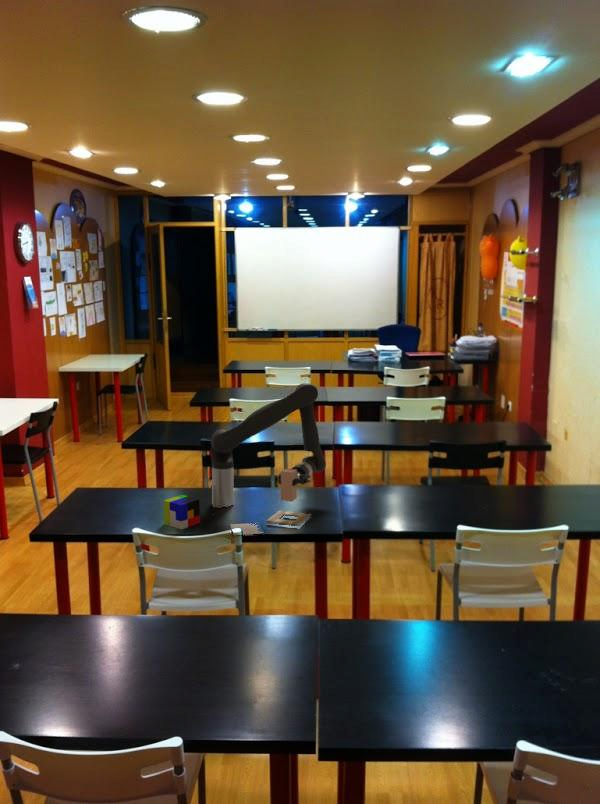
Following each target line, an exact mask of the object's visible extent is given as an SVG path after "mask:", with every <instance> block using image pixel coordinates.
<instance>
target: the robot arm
mask: <svg viewBox="0 0 600 804" xmlns="http://www.w3.org/2000/svg"><path fill="white" fill-rule="evenodd" d="M318 397H319V391H318V388H317V387H316V386H315V385H314V384H312V383H306V382H304V383H300V384H299V385H298V386H296V388H295V390H294V391H293V392H291V393H290V394H289V395H287V396H285V397H283V398H281V399H280V398H279V399H278V400H275V401H273V402H269V403H267V404H265V405H263V406H261V407H260V408H258V409H256V410H254V411H253V412H252V413H251V414H249V415H248V416H247V417H246V418H245V419H244V420H242V422H241V423H239V424H238V425H236V426H234V427H232V428H231V429H217V430H215V431H214V432H213V433H212V435H211V437H210V457H211V473H212V474H211V478H212V479H211V480H212V481H211V487H212V488H211V493H212V494H211V499H212V500H211V503H212V508H219V509H220V508H222V507H227V508H229V507H228V506H231V505H233V504H234V502H235V498H234V493H235V492H234V487H235V486H234V485H235V483H234V482H235V481H234V458H233V457H234V456H233V450H234V449H235V448H237V447H238V446H240V444H242V443H243V442H244V441H246V440H248V439H250V438H251V437H253V436H257V435H258V434H260V433H262V432H263V431H265V430H267V429H268V428H271V427H272V426H274V425H276V424H278V423H279V422H280V421H282V420H284V419H285V418H286V417H288V416H289V415H291V414H292V413H294V412H295V411H297V410H299V415H300V420H301V421H300V422H301V430H302V431H301V432H302V441H303V448H304V450H305V451H306V452H311V453H313V454H314V455H308V456H305V457H304V456H303V458H302V460H301V462H300V463H298V464H296V465H294V466H292V468H291V469H296V470H297V479H294V480H293V481H292V486H295V485H297V486H298V485H305V484H307V483H310V482H311V480H312V479H311V476H313V475H314V474H315V473H316V472H323V471H324V470H325V469H326V467H327V464H326V463H327V462H326V459H325V456H324V454H323V452H322V449H321V445H320V437H319V436H320V435H319V429H318V426H317V422H316V417H315V412H314V403H315V402H316V400H317V399H318ZM277 482H278V484H279V485H281V471H280V472H278V475H277ZM234 505H235V504H234ZM234 505H233V506H234ZM231 507H232V506H231ZM222 509H223V508H222Z"/></svg>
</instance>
